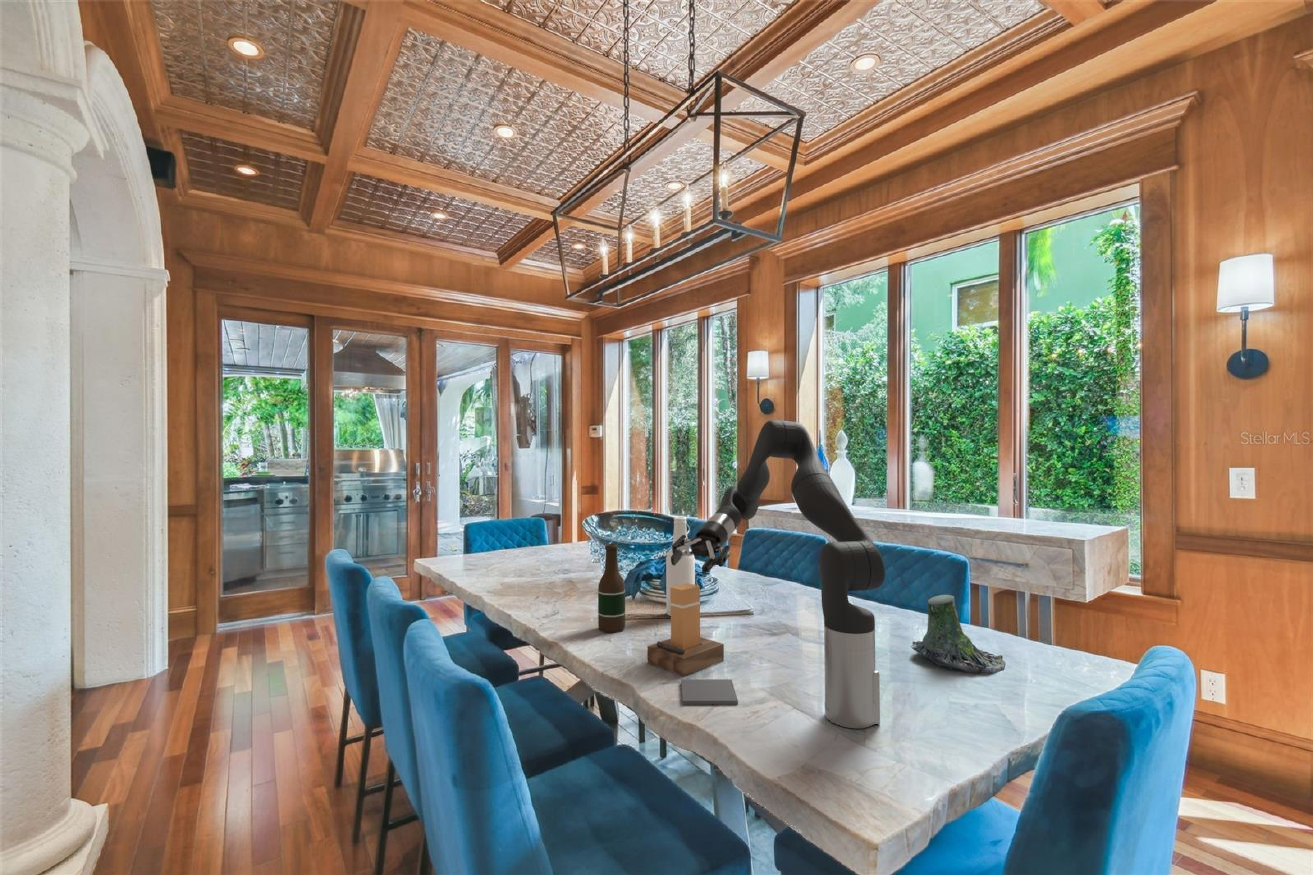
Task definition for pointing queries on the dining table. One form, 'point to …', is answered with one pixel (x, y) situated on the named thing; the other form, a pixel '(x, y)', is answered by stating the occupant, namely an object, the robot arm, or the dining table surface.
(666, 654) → the brown socket base
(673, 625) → the striped orange pillar
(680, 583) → the alcohol
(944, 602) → the tree stump
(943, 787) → the dining table surface
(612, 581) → the beer bottle
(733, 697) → the pad
